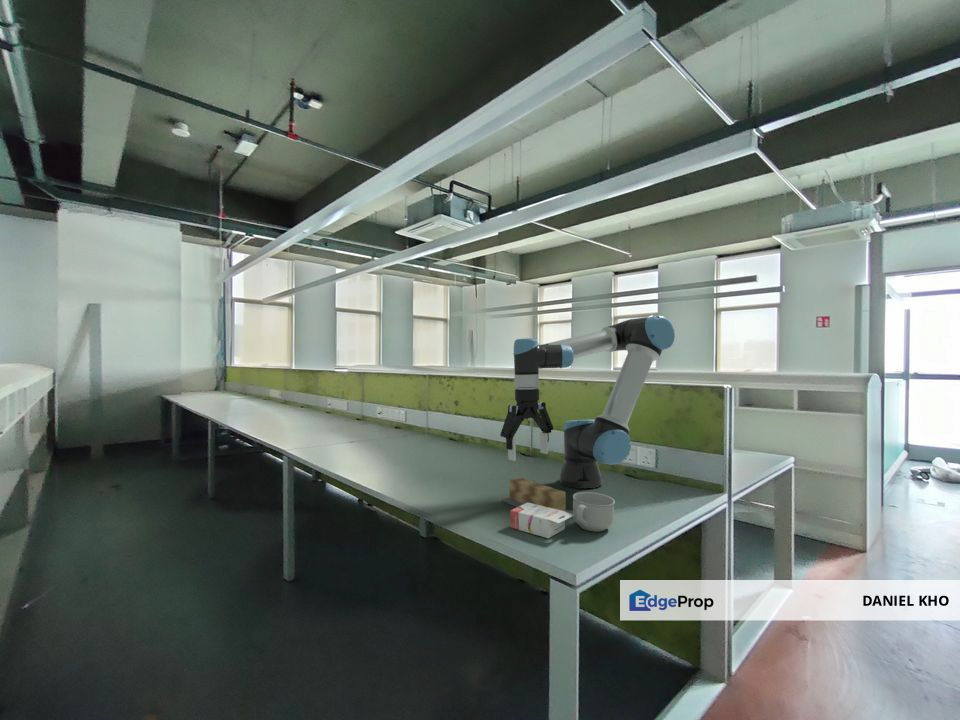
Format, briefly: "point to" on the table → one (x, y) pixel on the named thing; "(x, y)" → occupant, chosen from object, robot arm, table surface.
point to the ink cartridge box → (538, 519)
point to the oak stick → (537, 494)
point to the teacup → (593, 510)
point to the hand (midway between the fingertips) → (528, 456)
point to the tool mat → (517, 503)
